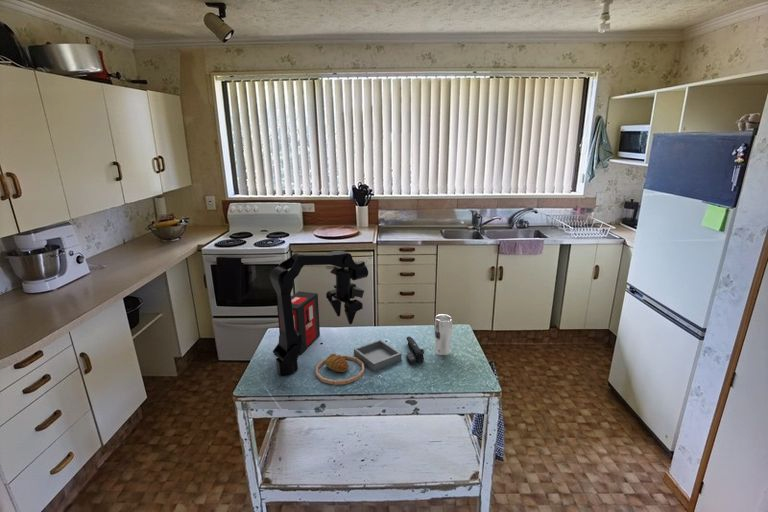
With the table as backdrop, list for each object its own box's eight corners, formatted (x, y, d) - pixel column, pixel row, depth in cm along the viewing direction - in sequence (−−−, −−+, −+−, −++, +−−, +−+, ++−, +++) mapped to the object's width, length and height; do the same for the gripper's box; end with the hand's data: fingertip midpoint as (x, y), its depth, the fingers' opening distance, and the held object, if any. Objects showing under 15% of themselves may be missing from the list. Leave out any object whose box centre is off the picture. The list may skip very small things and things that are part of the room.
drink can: (454, 355, 153) (456, 319, 149) (438, 358, 150) (440, 322, 146) (445, 347, 159) (446, 313, 155) (430, 350, 157) (431, 315, 153)
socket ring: (330, 390, 131) (330, 387, 131) (308, 367, 145) (307, 364, 144) (373, 373, 141) (373, 370, 141) (348, 353, 154) (348, 350, 154)
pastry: (353, 368, 143) (353, 359, 143) (339, 375, 139) (339, 366, 138) (336, 359, 150) (336, 350, 149) (323, 366, 145) (322, 356, 144)
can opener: (426, 365, 146) (427, 352, 144) (408, 367, 145) (408, 353, 144) (417, 343, 163) (417, 330, 161) (400, 344, 162) (400, 331, 161)
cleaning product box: (301, 334, 171) (298, 291, 166) (320, 336, 168) (317, 293, 163) (281, 352, 156) (277, 305, 150) (300, 355, 153) (297, 308, 148)
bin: (374, 371, 142) (374, 364, 141) (354, 355, 153) (353, 348, 152) (401, 360, 149) (401, 353, 148) (380, 346, 160) (380, 339, 159)
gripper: (374, 285, 148) (374, 322, 152) (348, 273, 163) (349, 307, 167) (349, 291, 142) (350, 330, 146) (324, 278, 156) (326, 314, 161)
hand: (344, 320), depth 155 cm, fingers open, 9 cm apart
